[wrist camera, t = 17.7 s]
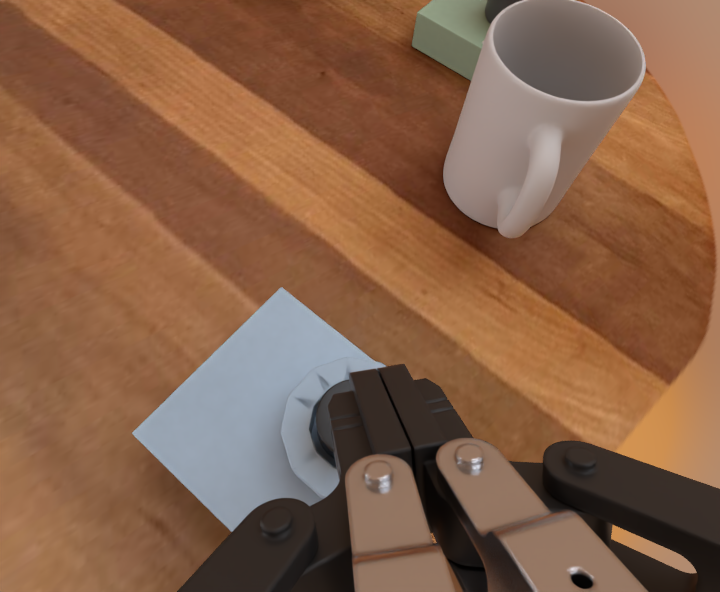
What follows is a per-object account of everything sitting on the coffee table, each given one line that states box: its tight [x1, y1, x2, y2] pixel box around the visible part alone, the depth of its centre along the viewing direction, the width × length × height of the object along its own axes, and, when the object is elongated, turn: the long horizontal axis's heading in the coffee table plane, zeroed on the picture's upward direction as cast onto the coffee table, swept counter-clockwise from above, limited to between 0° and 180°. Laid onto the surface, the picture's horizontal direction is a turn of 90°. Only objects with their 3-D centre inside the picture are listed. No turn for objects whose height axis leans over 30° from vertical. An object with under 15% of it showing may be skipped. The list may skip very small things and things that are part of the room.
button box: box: [132, 287, 387, 532], centre depth 24 cm, size 11×10×6 cm
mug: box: [443, 0, 646, 238], centre depth 29 cm, size 12×8×11 cm
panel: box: [412, 0, 491, 81], centre depth 40 cm, size 12×10×3 cm
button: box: [316, 380, 351, 459], centre depth 20 cm, size 3×3×2 cm
